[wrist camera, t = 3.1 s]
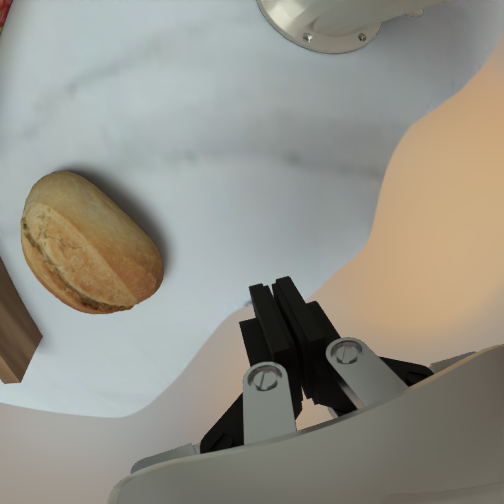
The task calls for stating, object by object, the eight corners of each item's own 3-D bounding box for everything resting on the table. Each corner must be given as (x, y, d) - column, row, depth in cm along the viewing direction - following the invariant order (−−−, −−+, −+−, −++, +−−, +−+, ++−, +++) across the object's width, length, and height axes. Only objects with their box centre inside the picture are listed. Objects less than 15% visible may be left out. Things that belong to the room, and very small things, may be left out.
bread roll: (131, 308, 31) (119, 360, 23) (21, 223, 24) (-20, 257, 17) (188, 243, 29) (187, 287, 22) (67, 144, 23) (25, 157, 16)
